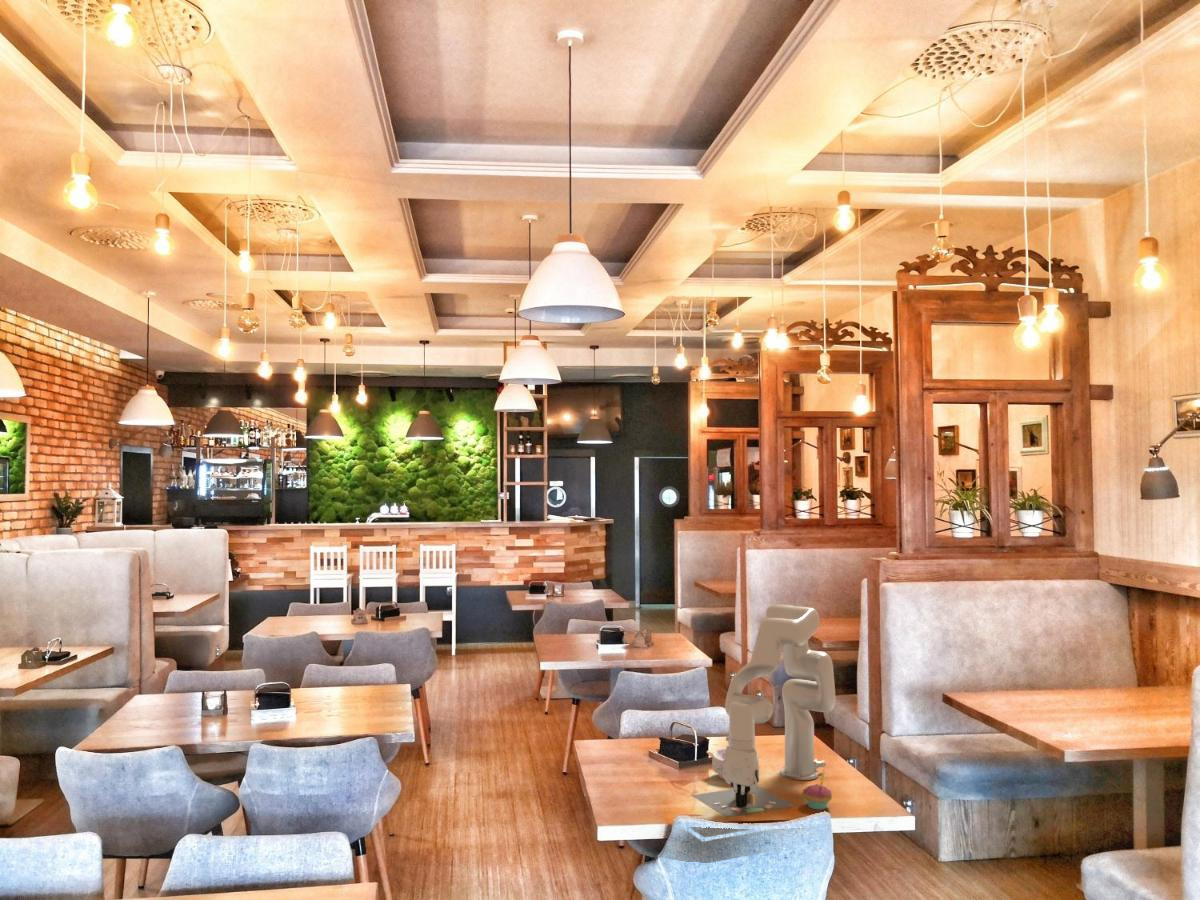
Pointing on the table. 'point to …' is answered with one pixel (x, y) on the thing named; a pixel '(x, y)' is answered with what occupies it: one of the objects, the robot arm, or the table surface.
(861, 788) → the table surface
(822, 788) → the cupcake
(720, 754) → the light grey bowl
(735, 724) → the robot arm
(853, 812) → the table surface
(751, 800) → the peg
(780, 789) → the table surface
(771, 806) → the board
